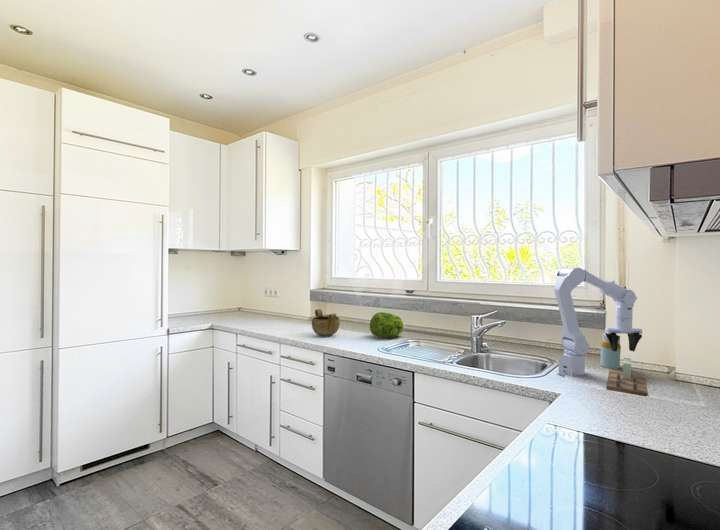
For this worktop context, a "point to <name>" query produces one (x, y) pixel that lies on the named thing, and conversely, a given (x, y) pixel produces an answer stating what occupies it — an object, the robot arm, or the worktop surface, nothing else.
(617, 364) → the bottle
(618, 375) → the hinge board
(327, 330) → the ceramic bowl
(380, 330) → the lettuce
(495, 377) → the worktop surface
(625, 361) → the door panel
